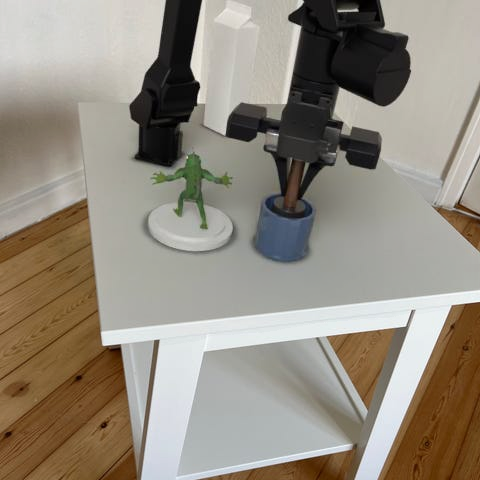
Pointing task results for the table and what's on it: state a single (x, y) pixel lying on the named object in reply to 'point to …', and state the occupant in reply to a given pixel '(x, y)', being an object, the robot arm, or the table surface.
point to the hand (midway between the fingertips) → (291, 197)
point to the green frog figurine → (190, 212)
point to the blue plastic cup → (283, 231)
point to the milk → (230, 64)
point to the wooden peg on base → (291, 193)
